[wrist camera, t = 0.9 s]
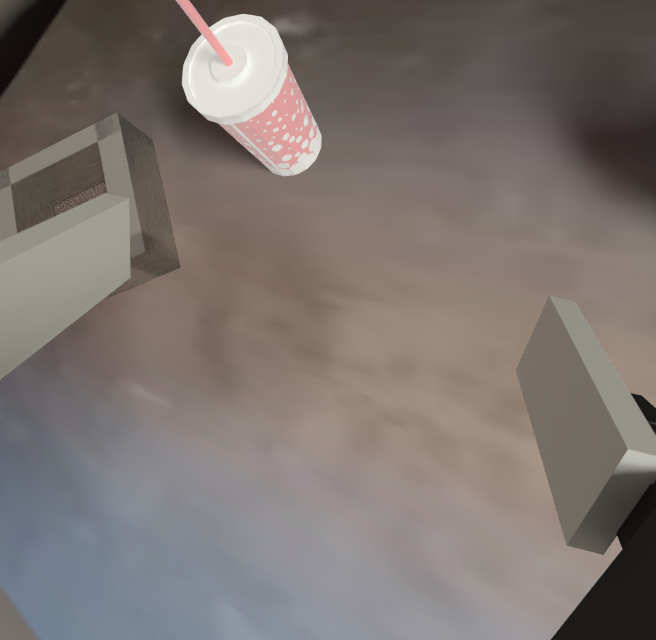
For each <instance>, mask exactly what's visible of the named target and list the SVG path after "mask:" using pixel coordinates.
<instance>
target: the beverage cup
mask: <svg viewBox="0 0 656 640" xmlns="http://www.w3.org/2000/svg"><path fill="white" fill-rule="evenodd" d="M176 1H177V2H178V4H179V5H180V6H181V8H182V9H183V10H184V12H185V13H186V14H187V15H188V17H189V18H190V19H191V21H192V22H193V23H194V25H195V26H196V27H197V29H198V30H199V31H200V33H201V34H202V35H201V36H200V37H199V38H198V39H197V40H196V42H195V43H194V44H193V45H192V47H191V49H190V51H189V53H188V56H187V58H186V60H185V63H184V65H183V77H182V86H183V89H184V92H185V94H186V97H187V100H188V102H189V103H190V104H191V105H192V106H193V107H194V108H195V109H196V110H197V111H199V112H200V113H201V114H202V115H203V116H204V117H205V118H206V119H207V120H209V121H213V122H216V123H218V124H219V125H220V126H222V127H223V128H224V129H225V130H226V131H227V132H228V133H229V134H230V135H232V136H233V137H234V138H235V139H236V140H237V141H238V142H239V143H240V144H242V145H243V146H244V147H245V148H246V149H247V150H248V151H249V152H250V153H252V154H253V155H254V156H255V157H256V158H257V159H258V160H259V161H261V162H262V163H263V164H264V165H265V166H266V167H267V168H268V169H269V170H271V171H272V172H273V173H275V174H278V175H282V176H289V175H296V174H298V173H300V172H302V171H304V170H306V169H307V168H308V167H309V166H310V165H311V164H312V163H313V162H314V161H315V160H316V158H317V156H318V153H319V151H320V149H321V133H320V131H319V129H318V126H317V124H316V122H315V120H314V118H313V116H312V114H311V111H310V109H309V107H308V105H307V103H306V101H305V99H304V97H303V95H302V92H301V90H300V88H299V86H298V84H297V82H296V80H295V78H294V76H293V73H292V71H291V69H290V67H289V65H288V54H287V52H286V50H285V47H284V45H283V43H282V40H281V38H280V36H279V34H278V31H277V30H276V28H275V27H274V26H272V25H271V24H270V23H269V22H267V21H266V20H265V19H263V18H262V17H258V16H253V15H247V14H241V15H236V16H232V17H227V18H224V19H222V20H220V21H219V22H217V23H216V24H214V25H212V26H211V27H208V26H207V24H206V23H205V22H204V20H203V19H202V17H201V16H200V15H199V13H198V12H197V11H196V9H195V8H194V6H193V5H192V4H191V2H190V1H189V0H176Z"/></svg>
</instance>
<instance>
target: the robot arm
mask: <svg viewBox="0 0 656 640" xmlns="http://www.w3.org/2000/svg"><path fill="white" fill-rule="evenodd" d="M128 279H130V216H129V198H125V197H121V196H116V195H112V194H108V193H105V194H103V195H101V196H98V197H96V198H94V199H92V200H90V201H87V202H85V203H83V204H81V205H79V206H77V207H74V208H72V209H70V210H68V211H66V212H63V213H61V214H59V215H57V216H55V217H52V218H50V219H48V220H46V221H44V222H41V223H39V224H37V225H35V226H33V227H31V228H28V229H26V230H24V231H22V232H20V233H17V234H15V235H13V236H11V237H9V238H6V239H4V240H2V241H0V380H1V379H2V378H3V377H5V376H6V375H7V374H9V373H10V372H11V371H12V370H14V369H15V368H16V367H17V366H19V365H20V364H21V363H23V362H24V361H25V360H26V359H28V358H29V357H30V356H31V355H33V354H34V353H35V352H37V351H38V350H39V349H40V348H42V347H43V346H44V345H45V344H47V343H48V342H49V341H51V340H52V339H53V338H54V337H56V336H57V335H58V334H59V333H61V332H62V331H63V330H65V329H66V328H67V327H68V326H70V325H71V324H72V323H73V322H75V321H76V320H77V319H79V318H80V317H81V316H82V315H84V314H85V313H86V312H87V311H89V310H90V309H91V308H93V307H94V306H95V305H96V304H98V303H99V302H100V301H102V300H103V299H104V298H105V297H107V296H108V295H109V294H110V293H112V292H113V291H114V290H116V289H117V288H118V287H119V286H121V285H122V284H123V283H124V282H126V281H127V280H128ZM516 372H517V375H518V379H519V382H520V386H521V389H522V393H523V396H524V399H525V403H526V406H527V410H528V413H529V417H530V420H531V424H532V427H533V430H534V434H535V437H536V441H537V444H538V448H539V451H540V455H541V458H542V462H543V465H544V468H545V472H546V475H547V479H548V482H549V486H550V489H551V493H552V496H553V500H554V503H555V506H556V510H557V513H558V517H559V520H560V524H561V527H562V531H563V534H564V537H565V541H566V544H567V545H568V546H571V547H575V548H579V549H583V550H587V551H591V552H595V553H599V554H602V555H604V553H605V552H606V550H607V549H608V548H609V546H610V545H611V543H612V542H613V540H614V539H615V538H616V536H618V539H619V541H620V544H621V546H622V551H621V552H620V553H619V554H618V556H617V557H616V558H615V560H614V561H613V562H612V563H611V565H610V566H609V567H608V568H607V570H606V571H605V572H604V573H603V575H602V576H601V577H600V578H599V580H598V581H597V582H596V583H595V585H594V586H593V587H592V588H591V590H590V591H589V592H588V594H587V595H586V596H585V597H584V599H583V600H582V601H581V602H580V604H579V605H578V606H577V607H576V609H575V610H574V611H573V612H572V614H571V615H570V616H569V617H568V619H567V620H566V621H565V622H564V624H563V625H562V626H561V628H560V629H559V630H558V631H557V633H556V634H555V635H554V636H553V638H552V639H551V640H656V408H655V407H654V406H653V405H652V404H650V403H649V402H648V401H647V400H646V399H645V398H644V397H643V396H641V395H636V394H632V393H630V392H629V390H628V388H627V387H626V385H625V383H624V382H623V380H622V378H621V377H620V375H619V373H618V372H617V370H616V369H615V367H614V365H613V364H612V362H611V360H610V359H609V357H608V355H607V354H606V352H605V350H604V349H603V347H602V345H601V344H600V342H599V340H598V339H597V337H596V335H595V334H594V332H593V330H592V329H591V327H590V325H589V324H588V322H587V320H586V319H585V317H584V315H583V314H582V312H581V310H580V309H579V307H578V305H577V304H576V302H575V301H571V300H567V299H563V298H558V297H554V296H550V295H549V297H548V300H547V302H546V304H545V306H544V309H543V311H542V313H541V315H540V318H539V320H538V322H537V324H536V327H535V329H534V331H533V333H532V336H531V338H530V340H529V342H528V345H527V347H526V349H525V351H524V354H523V356H522V358H521V360H520V363H519V365H518V367H517V369H516Z"/></svg>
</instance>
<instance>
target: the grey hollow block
mask: <svg viewBox="0 0 656 640" xmlns="http://www.w3.org/2000/svg"><path fill="white" fill-rule="evenodd" d="M103 181H105V183H106V188H107V193H108V194H112V195H116V196H121V197H125V198H129V216H130V279H128V280H127V281H126V282H124V283H123V284H122V285H121V286H119V287H118V288H117V289H116V290H114V291H113V292H112V293H110V294H109V295H108V296H107V297H109V296H112V295H114V294H117V293H119V292H121V291H124V290H126V289H129V288H131V287H134V286H136V285H138V284H141V283H143V282H146V281H148V280H151V279H153V278H156V277H158V276H160V275H163V274H165V273H168V272H170V271H173V270H175V269H178V268H180V265H179V260H178V256H177V251H176V246H175V242H174V237H173V233H172V228H171V223H170V219H169V214H168V210H167V205H166V200H165V196H164V191H163V186H162V182H161V177H160V173H159V168H158V163H157V159H156V154H155V150H154V145H153V140H152V139H150V138H149V137H148V136H147V135H145V134H144V133H143V132H142V131H140V130H139V129H138V128H137V127H135V126H134V125H133V124H132V123H130V122H129V121H128V120H127V119H126V118H124V117H123V116H122V115H121V114H119V113H118V112H116V113H115V114H113V115H111V116H109V117H107V118H105V119H103V120H101V121H99V122H97V123H95V124H93V125H91V126H89V127H87V128H85V129H83V130H81V131H79V132H77V133H75V134H73V135H71V136H69V137H67V138H66V139H64V140H62V141H60V142H58V143H56V144H54V145H52V146H50V147H48V148H46V149H44V150H42V151H40V152H38V153H36V154H34V155H32V156H30V157H28V158H26V159H24V160H22V161H20V162H18V163H17V164H15V165H13V166H11V167H9V168H7V169H5V170H3V171H1V172H0V241H2V240H4V239H6V238H9V237H11V236H13V235H15V234H17V233H20V232H22V231H24V230H26V229H28V228H31V227H33V226H35V225H37V224H39V223H41V222H44V221H46V220H48V219H50V218H52V217H55V210H54V205H55V204H57V203H59V202H61V201H63V200H65V199H67V198H70V197H72V196H74V195H76V194H78V193H80V192H82V191H84V190H86V189H88V188H91V187H93V186H95V185H97V184H99V183H101V182H103ZM107 297H105V298H107Z"/></svg>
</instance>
